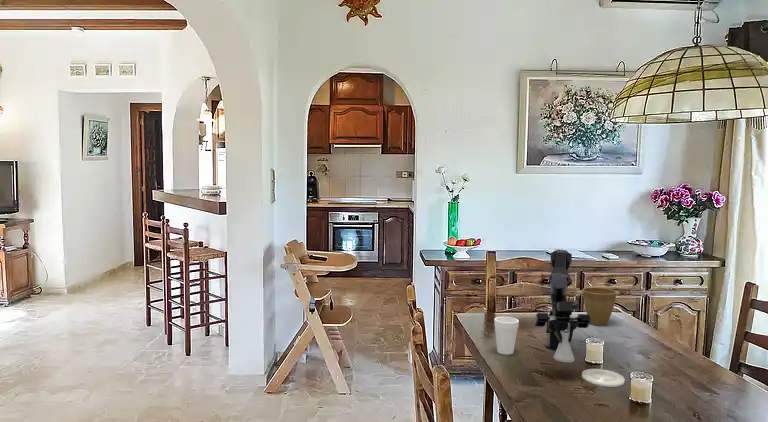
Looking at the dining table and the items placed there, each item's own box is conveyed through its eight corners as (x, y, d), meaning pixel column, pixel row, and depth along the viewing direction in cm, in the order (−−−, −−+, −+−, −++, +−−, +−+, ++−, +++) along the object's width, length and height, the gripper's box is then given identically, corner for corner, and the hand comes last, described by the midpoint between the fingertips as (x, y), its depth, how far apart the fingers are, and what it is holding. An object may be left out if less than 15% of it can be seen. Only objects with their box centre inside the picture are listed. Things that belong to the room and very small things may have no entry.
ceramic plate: (591, 368, 209) (591, 365, 209) (630, 379, 200) (630, 376, 200) (575, 378, 199) (575, 375, 199) (615, 390, 189) (615, 387, 189)
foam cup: (503, 357, 219) (504, 324, 218) (488, 349, 227) (489, 318, 226) (522, 353, 224) (523, 321, 222) (507, 346, 232) (508, 315, 231)
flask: (575, 364, 195) (577, 335, 194) (553, 362, 197) (555, 334, 196) (573, 356, 202) (574, 329, 201) (552, 355, 204) (553, 327, 203)
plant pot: (615, 321, 272) (617, 289, 270) (614, 330, 258) (616, 295, 257) (582, 317, 278) (584, 285, 276) (579, 325, 264) (581, 291, 263)
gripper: (537, 290, 202) (542, 330, 192) (591, 292, 201) (599, 332, 191) (532, 306, 210) (537, 345, 201) (583, 307, 209) (590, 347, 199)
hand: (565, 342), depth 198 cm, fingers closed on flask, 3 cm apart
